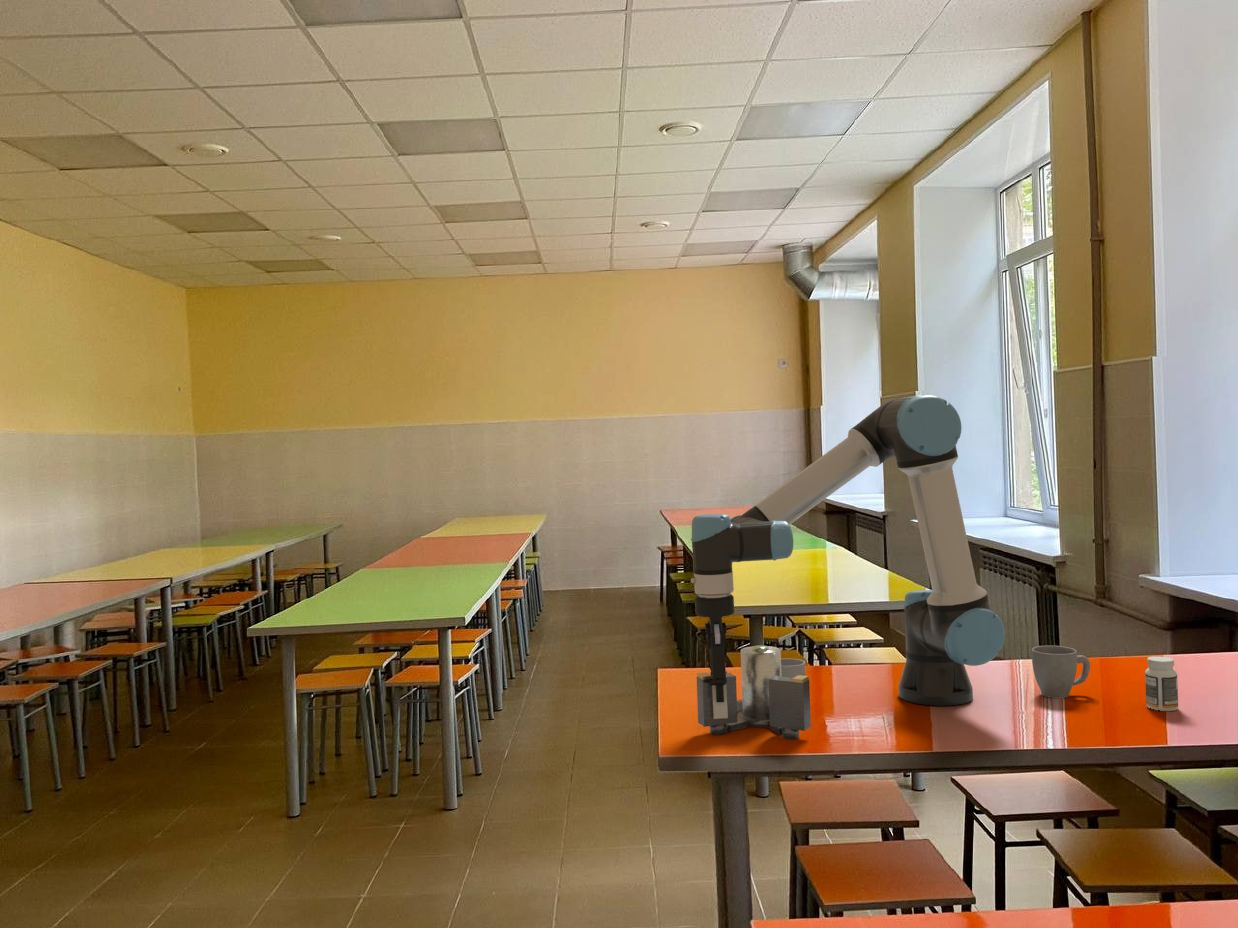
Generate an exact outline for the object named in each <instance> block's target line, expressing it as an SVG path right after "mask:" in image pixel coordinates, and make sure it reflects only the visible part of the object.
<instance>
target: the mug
mask: <svg viewBox="0 0 1238 928" xmlns="http://www.w3.org/2000/svg"><path fill="white" fill-rule="evenodd" d="M1031 662H1032V669H1033V673H1034V678H1035V681H1036V683H1037V686H1038V687H1039V690H1040V693H1041V696H1042V697H1043V696H1044V697H1046V698H1050V699H1051V698H1052V699H1066V698H1068V697H1070V694H1071V691H1072V688H1073V687H1074V686H1078V685H1081V684H1083V683H1084V682H1086V681H1087V678H1088V677H1089V674H1090V671H1091V663H1090V660H1089V658H1088V657H1087V656H1085V655H1082V654H1079V655H1078V652H1077V650H1076V649H1075V648H1072V647H1068V646H1063V645H1062V646H1061V645H1037V646H1034V647H1032V648H1031ZM1078 664H1082V670H1081V673H1080V675H1079V676H1078V677H1077V679H1076V675H1077V670H1078Z"/></svg>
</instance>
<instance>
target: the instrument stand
mask: <svg viewBox="0 0 1238 928" xmlns="http://www.w3.org/2000/svg"><path fill="white" fill-rule="evenodd" d="M781 659H782V649H780V648H778V647H775V646H771V645H770V646H767V645H753V646H746V647H743V648H741V649H740V665H741V666H740V671H741V672H740V674H741V675H740V676H741V698H742V699H737V718H738V722H737V723H729V724H726V732H735V731H739V730H742V729H745V728H749V727H750V728H751V727H752V728H768V729H770V730H772V731H773V732H775V733H777V734H778V735H782V728H779V727H772V726H770V709H769V680H768V679H770V678H772V677H773V676H782V673H781Z"/></svg>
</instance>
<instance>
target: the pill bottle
mask: <svg viewBox="0 0 1238 928" xmlns="http://www.w3.org/2000/svg"><path fill="white" fill-rule="evenodd" d="M1146 660H1147V665H1148V668H1146V669H1145V672H1144V679H1145V680H1144V681H1145V703H1146V704H1145V705H1146V707H1147V708H1148V709H1150V708H1151V709H1150V710H1153V709H1154V710H1153V711H1158V710H1160V711H1159V712H1174V711H1176V710H1178V709H1179V689H1178V688H1179V687H1178V673H1177V671H1176V670H1175V669H1174V666H1175V659H1173V657H1167V656H1149V657H1147V659H1146Z"/></svg>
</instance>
